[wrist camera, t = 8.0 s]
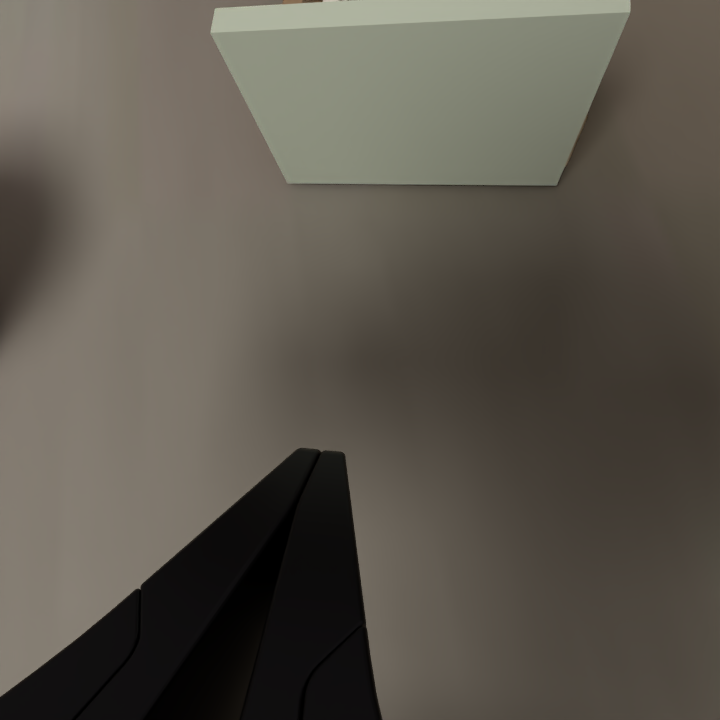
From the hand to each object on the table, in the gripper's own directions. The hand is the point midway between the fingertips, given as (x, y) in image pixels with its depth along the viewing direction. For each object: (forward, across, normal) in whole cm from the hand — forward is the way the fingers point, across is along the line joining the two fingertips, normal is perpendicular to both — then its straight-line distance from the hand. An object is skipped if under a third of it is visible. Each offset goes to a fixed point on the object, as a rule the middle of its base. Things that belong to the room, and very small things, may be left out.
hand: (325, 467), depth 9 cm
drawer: (+23, 0, -6) cm, 24 cm away
